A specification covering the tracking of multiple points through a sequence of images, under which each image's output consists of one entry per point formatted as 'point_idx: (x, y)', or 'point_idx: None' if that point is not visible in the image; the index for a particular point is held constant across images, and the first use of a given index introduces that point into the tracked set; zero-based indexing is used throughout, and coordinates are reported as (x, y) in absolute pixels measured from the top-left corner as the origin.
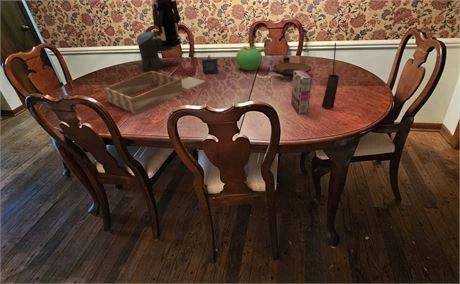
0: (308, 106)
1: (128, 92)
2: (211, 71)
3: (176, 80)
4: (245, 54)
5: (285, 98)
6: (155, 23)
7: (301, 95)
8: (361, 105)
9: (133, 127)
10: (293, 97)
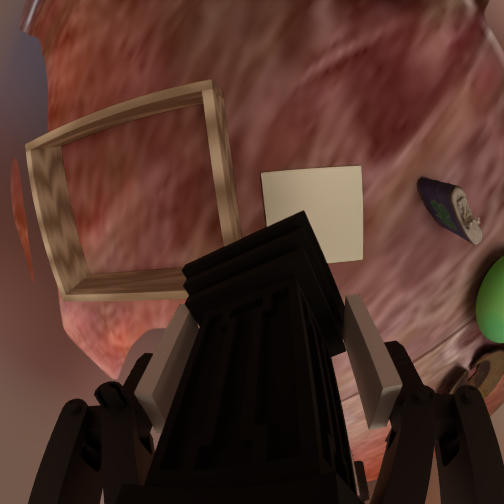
0: None
1: (103, 128)
2: (435, 214)
3: None
4: (500, 327)
5: (358, 435)
6: (78, 428)
7: None
8: (374, 471)
9: (76, 324)
10: None
